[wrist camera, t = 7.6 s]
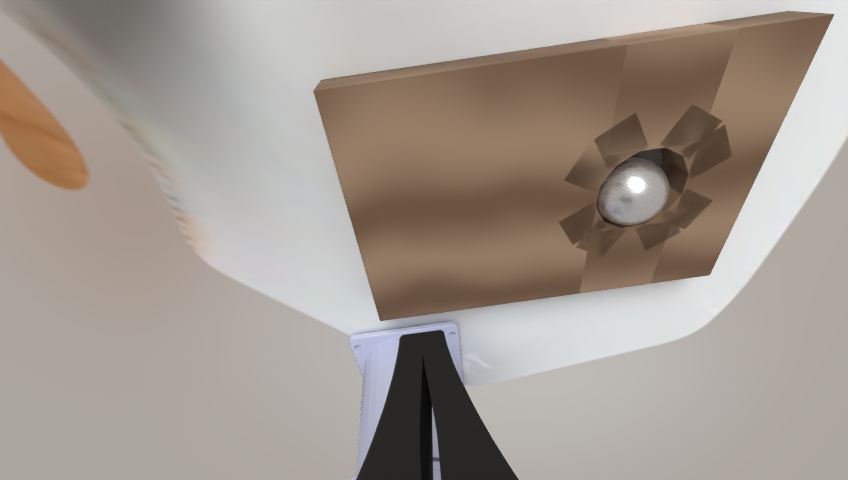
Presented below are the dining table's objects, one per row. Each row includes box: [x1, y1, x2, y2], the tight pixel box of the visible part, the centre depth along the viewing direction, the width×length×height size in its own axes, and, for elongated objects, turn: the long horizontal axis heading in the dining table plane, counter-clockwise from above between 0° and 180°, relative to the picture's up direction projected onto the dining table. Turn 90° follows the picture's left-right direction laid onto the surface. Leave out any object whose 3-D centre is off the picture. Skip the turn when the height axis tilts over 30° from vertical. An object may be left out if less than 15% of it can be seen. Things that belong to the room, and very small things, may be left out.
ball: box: [596, 157, 669, 225], centre depth 19 cm, size 4×4×4 cm
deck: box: [314, 11, 834, 321], centre depth 19 cm, size 14×21×2 cm, turn 97°
